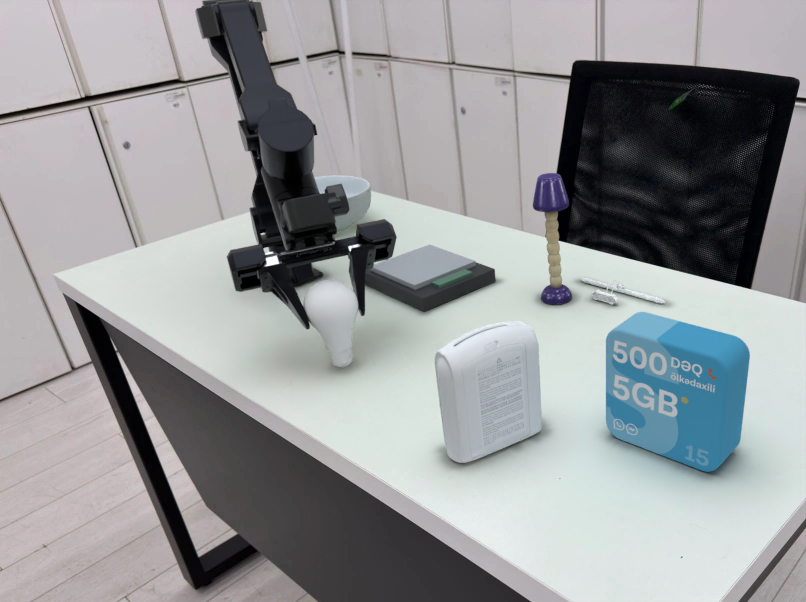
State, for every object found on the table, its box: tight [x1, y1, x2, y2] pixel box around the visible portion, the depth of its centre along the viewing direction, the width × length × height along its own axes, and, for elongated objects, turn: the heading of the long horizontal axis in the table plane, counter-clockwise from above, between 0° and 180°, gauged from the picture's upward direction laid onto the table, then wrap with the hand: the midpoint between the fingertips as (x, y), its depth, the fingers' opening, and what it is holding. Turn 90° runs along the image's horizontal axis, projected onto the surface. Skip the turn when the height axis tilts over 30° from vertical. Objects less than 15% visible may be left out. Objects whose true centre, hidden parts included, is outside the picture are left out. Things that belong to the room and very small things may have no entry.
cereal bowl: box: [314, 174, 372, 233], centre depth 132 cm, size 17×17×7 cm
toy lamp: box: [532, 172, 573, 305], centre depth 97 cm, size 5×5×17 cm
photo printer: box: [434, 320, 543, 464], centre depth 70 cm, size 10×4×12 cm, turn 123°
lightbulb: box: [302, 278, 359, 369], centre depth 86 cm, size 6×6×11 cm
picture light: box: [579, 277, 666, 306], centre depth 100 cm, size 14×4×2 cm, turn 48°
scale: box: [365, 244, 497, 312], centre depth 108 cm, size 15×13×3 cm
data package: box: [605, 311, 751, 473], centre depth 68 cm, size 12×4×12 cm, turn 50°
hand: (335, 321), depth 84 cm, fingers closed on lightbulb, 6 cm apart
